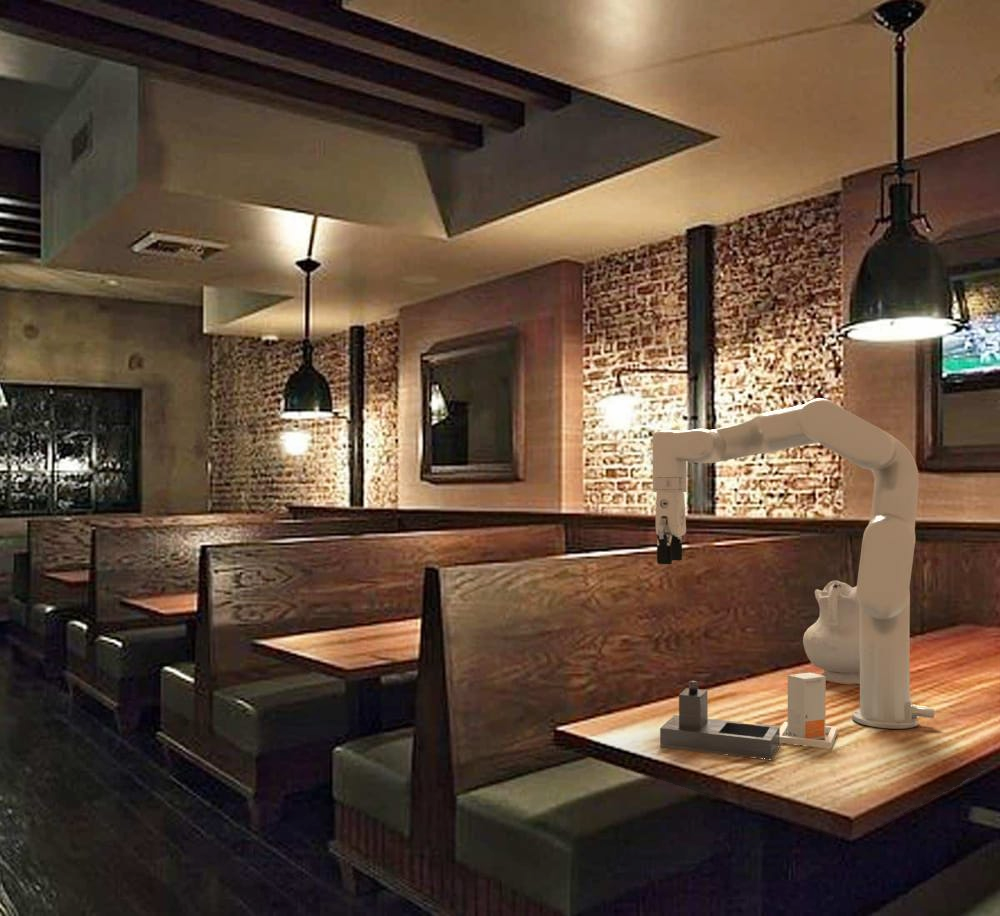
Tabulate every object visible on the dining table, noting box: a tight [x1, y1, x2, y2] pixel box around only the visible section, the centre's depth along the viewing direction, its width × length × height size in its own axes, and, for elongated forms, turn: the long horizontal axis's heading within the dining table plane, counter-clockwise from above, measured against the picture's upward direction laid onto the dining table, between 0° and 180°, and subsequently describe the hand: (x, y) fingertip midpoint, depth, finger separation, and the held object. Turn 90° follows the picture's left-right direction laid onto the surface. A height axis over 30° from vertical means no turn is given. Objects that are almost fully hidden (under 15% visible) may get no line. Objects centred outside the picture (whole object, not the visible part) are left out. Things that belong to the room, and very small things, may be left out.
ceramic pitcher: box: [802, 579, 860, 686], centre depth 235 cm, size 22×20×25 cm
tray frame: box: [780, 721, 838, 750], centre depth 184 cm, size 10×12×1 cm
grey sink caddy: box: [659, 680, 781, 760], centre depth 179 cm, size 20×10×12 cm, turn 65°
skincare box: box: [787, 672, 827, 740], centre depth 184 cm, size 6×4×12 cm
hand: (669, 562), depth 215 cm, fingers open, 9 cm apart
